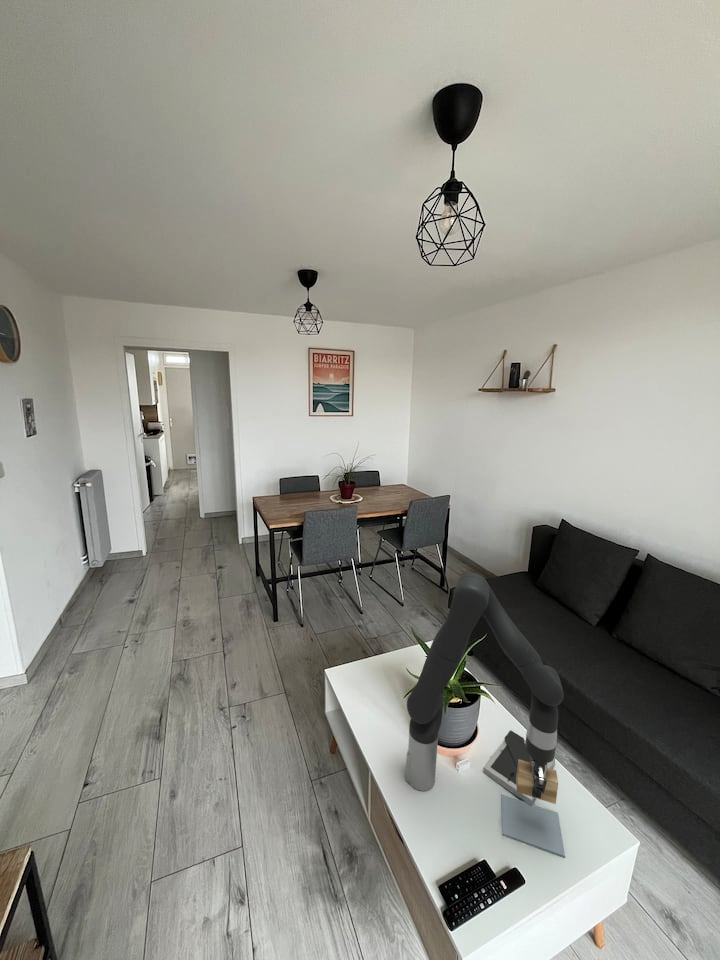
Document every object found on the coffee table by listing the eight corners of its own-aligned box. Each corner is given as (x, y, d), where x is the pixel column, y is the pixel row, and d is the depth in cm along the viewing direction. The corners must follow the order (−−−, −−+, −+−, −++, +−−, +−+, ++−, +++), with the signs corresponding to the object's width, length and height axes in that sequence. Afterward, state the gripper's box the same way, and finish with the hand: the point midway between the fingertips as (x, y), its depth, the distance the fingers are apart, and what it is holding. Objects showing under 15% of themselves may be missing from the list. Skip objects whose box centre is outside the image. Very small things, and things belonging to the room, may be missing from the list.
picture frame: (510, 736, 139) (483, 772, 125) (510, 729, 139) (483, 765, 125) (554, 763, 128) (531, 805, 114) (555, 756, 128) (531, 797, 113)
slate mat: (502, 835, 106) (502, 833, 106) (501, 795, 117) (501, 794, 117) (564, 857, 101) (565, 856, 101) (557, 814, 112) (557, 812, 112)
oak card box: (555, 804, 104) (558, 783, 102) (516, 791, 107) (519, 771, 106) (553, 791, 107) (556, 770, 106) (516, 779, 111) (518, 759, 109)
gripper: (560, 763, 96) (553, 818, 99) (552, 721, 110) (546, 771, 112) (528, 754, 99) (523, 808, 102) (524, 714, 112) (519, 763, 115)
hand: (535, 788), depth 107 cm, fingers closed on oak card box, 4 cm apart
